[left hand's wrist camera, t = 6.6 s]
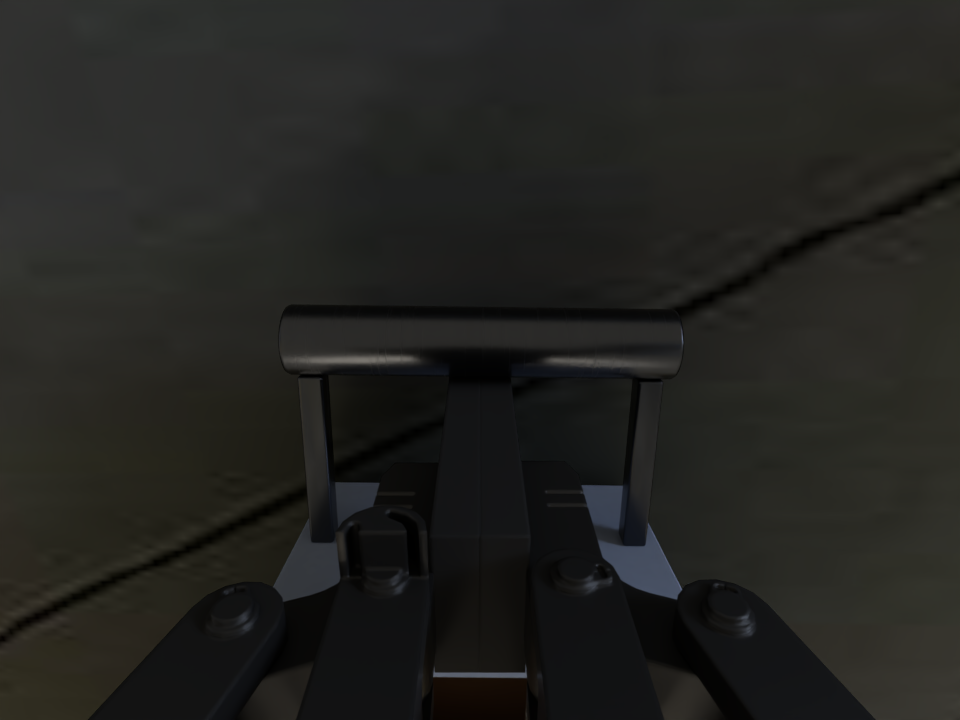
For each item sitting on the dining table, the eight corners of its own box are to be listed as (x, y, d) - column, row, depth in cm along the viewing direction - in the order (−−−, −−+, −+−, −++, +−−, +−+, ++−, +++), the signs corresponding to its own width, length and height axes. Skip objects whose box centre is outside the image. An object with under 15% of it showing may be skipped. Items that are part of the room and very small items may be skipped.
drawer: (313, 284, 16) (212, 341, 10) (649, 288, 16) (750, 348, 10) (351, 830, 22) (302, 1072, 16) (596, 832, 22) (640, 1074, 16)
